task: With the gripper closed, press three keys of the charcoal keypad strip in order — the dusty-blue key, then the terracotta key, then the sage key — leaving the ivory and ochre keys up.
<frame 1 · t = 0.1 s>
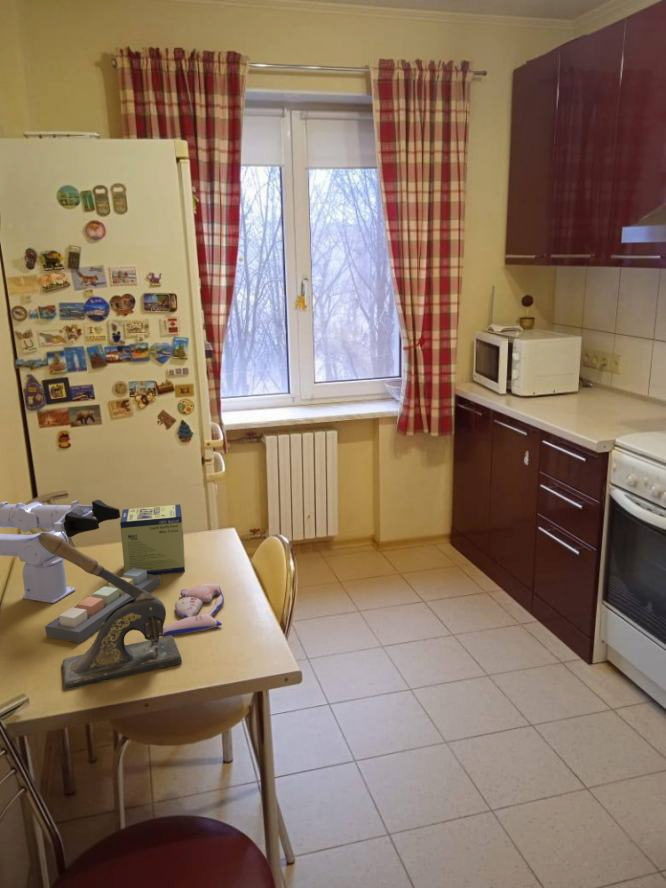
hand: (108, 518, 160), 22 cm above the table, tool horizontal, fingers open, 7 cm apart
key sage: (106, 597, 162), point 3 cm above the table, slide at 0.0 cm
key ivory: (73, 618, 152), point 3 cm above the table, slide at 0.0 cm
keypad board: (107, 608, 163), on the table
key ochre: (121, 587, 168), point 3 cm above the table, slide at 0.0 cm
protein powder box: (155, 568, 186), on the table
embossing press: (119, 666, 139), on the table
key blue: (135, 577, 173), point 3 cm above the table, slide at 0.0 cm
key terracotta: (90, 607, 157), point 3 cm above the table, slide at 0.0 cm
anatomical model: (193, 614, 161), on the table
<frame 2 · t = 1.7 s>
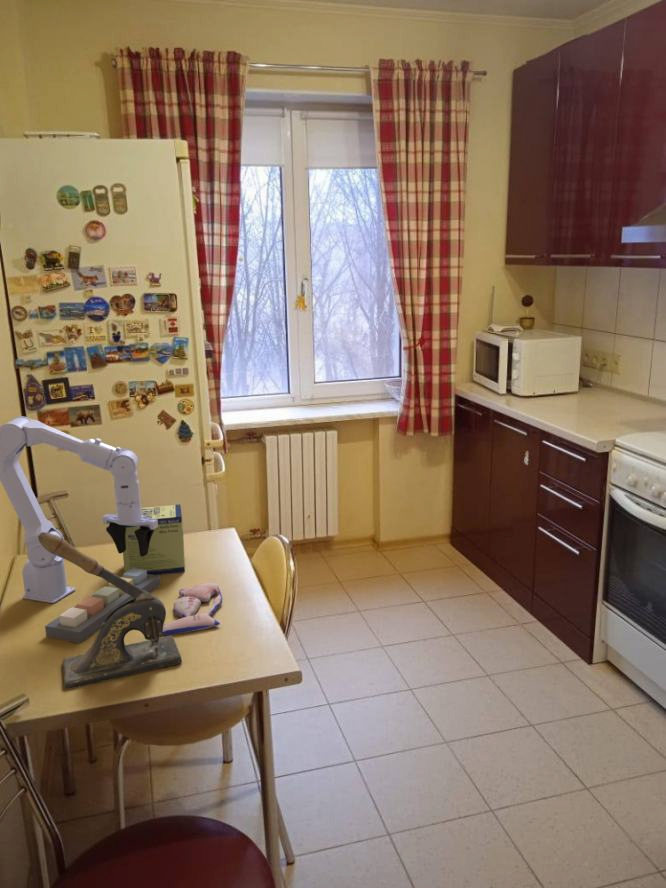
hand: (133, 553, 171), 9 cm above the table, tool pointing down, fingers open, 6 cm apart
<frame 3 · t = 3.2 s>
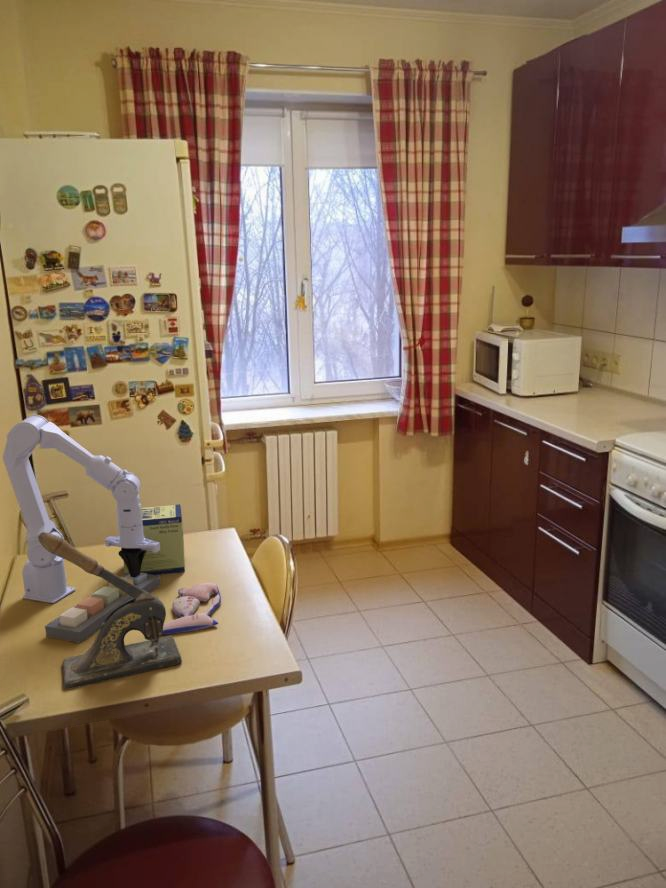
hand: (135, 575, 173), 4 cm above the table, tool pointing down, fingers closed, pressing on key blue
key blue: (135, 581, 173), point 2 cm above the table, slide at 0.9 cm, touching gripper
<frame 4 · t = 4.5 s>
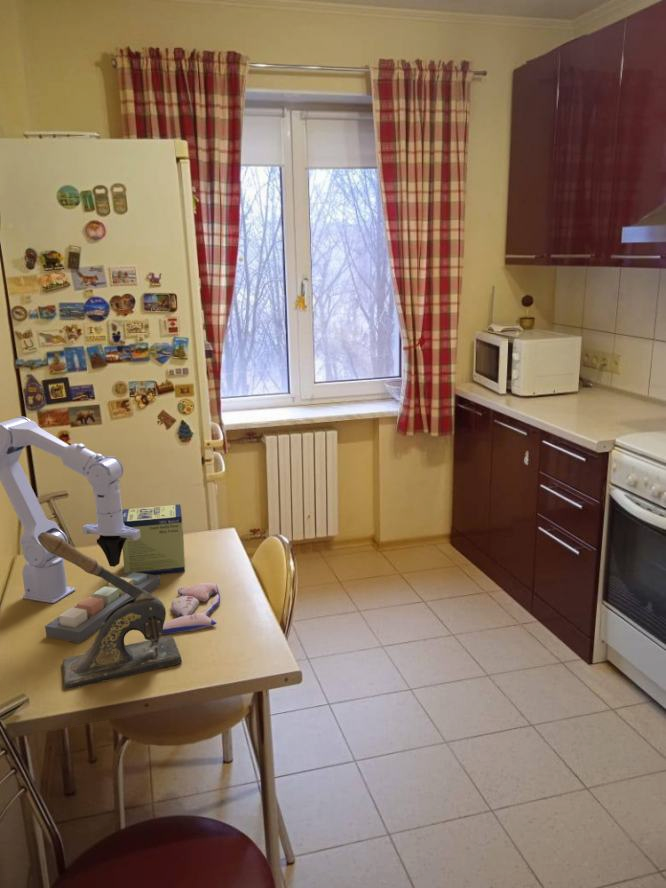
hand: (114, 564, 165), 9 cm above the table, tool pointing down, fingers closed
key blue: (135, 582, 173), point 2 cm above the table, slide at 1.1 cm
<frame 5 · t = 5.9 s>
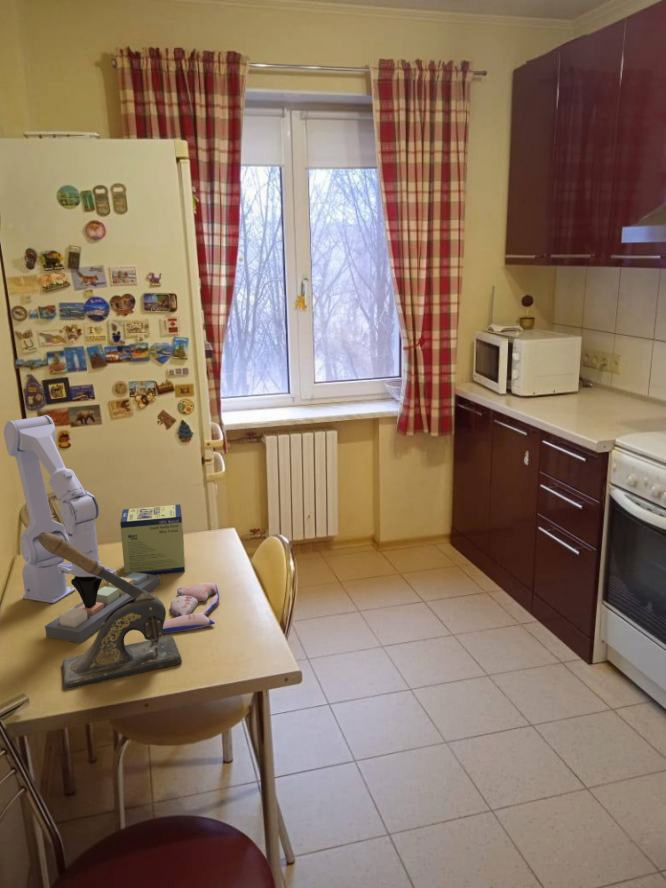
hand: (90, 605, 157), 3 cm above the table, tool pointing down, fingers closed, pressing on key terracotta
key terracotta: (91, 611, 158), point 2 cm above the table, slide at 1.1 cm, touching gripper
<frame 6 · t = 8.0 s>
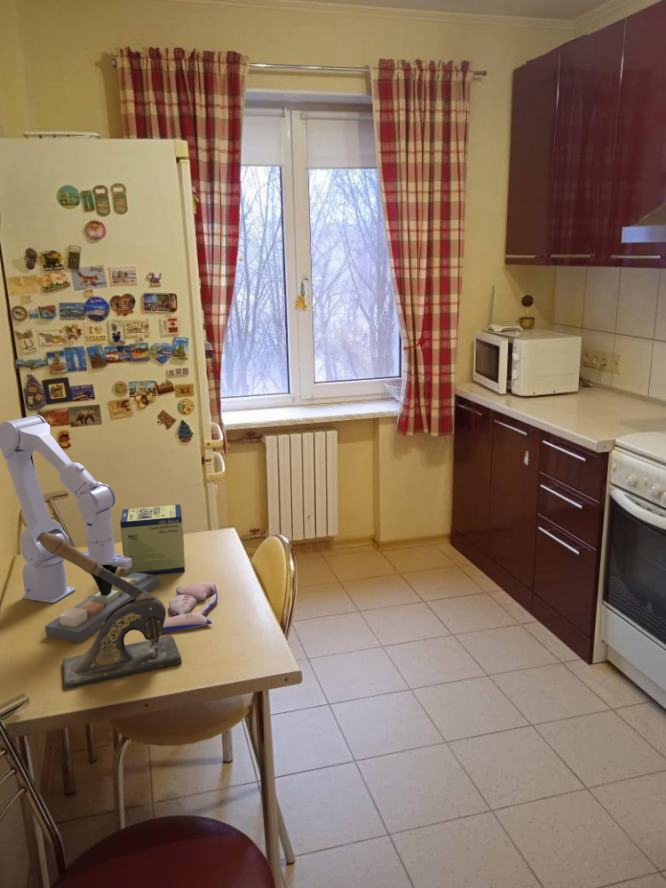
hand: (106, 593, 162), 4 cm above the table, tool pointing down, fingers closed, pressing on key sage
key sage: (106, 599, 163), point 2 cm above the table, slide at 0.6 cm, touching gripper
key terracotta: (91, 612, 158), point 2 cm above the table, slide at 1.1 cm
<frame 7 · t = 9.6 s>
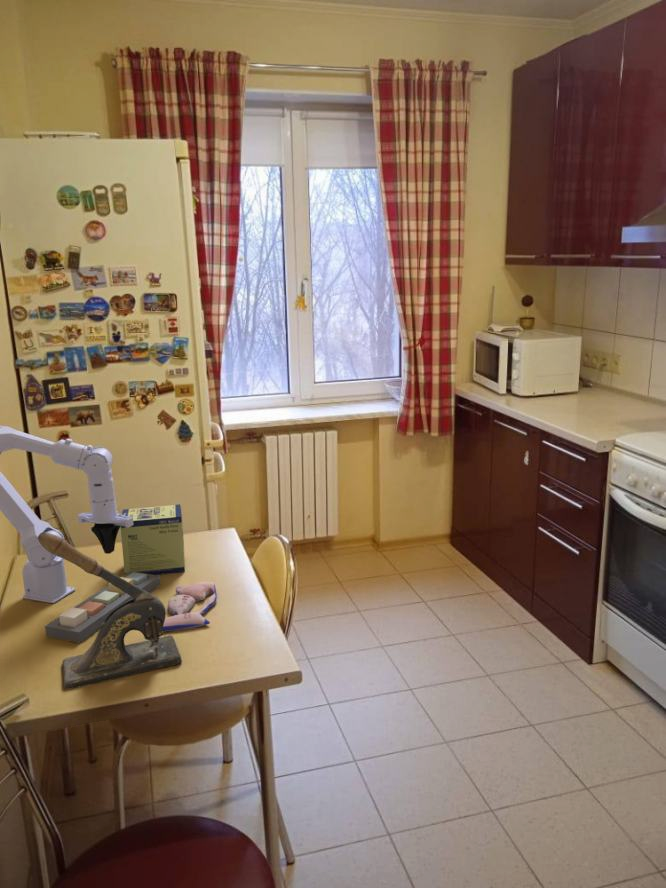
hand: (109, 552, 170), 10 cm above the table, tool pointing down, fingers closed
key sage: (106, 601, 163), point 2 cm above the table, slide at 1.1 cm
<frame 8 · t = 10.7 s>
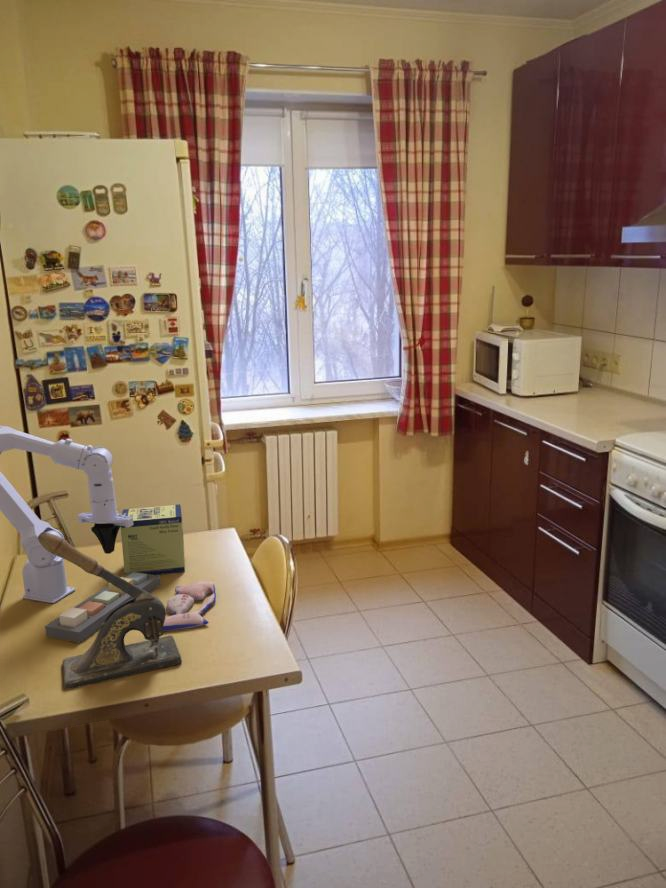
hand: (109, 552, 170), 10 cm above the table, tool pointing down, fingers closed
at the end: key blue slide at 1.1 cm; key terracotta slide at 1.1 cm; key sage slide at 1.1 cm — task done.
